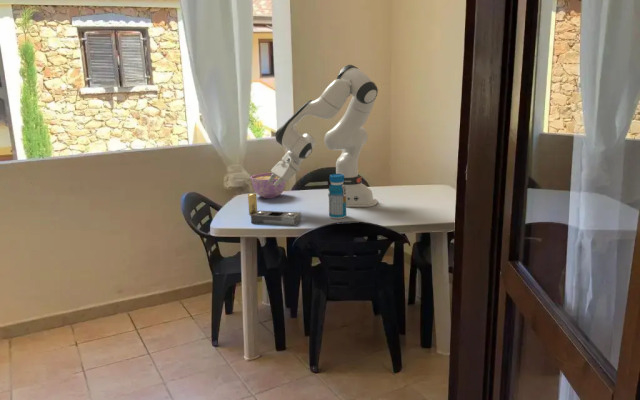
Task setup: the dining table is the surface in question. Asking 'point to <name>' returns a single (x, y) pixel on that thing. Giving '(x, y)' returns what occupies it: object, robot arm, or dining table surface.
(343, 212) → the beverage bottle
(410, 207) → the dining table surface
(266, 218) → the gray metal fixture block
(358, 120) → the robot arm
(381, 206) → the dining table surface
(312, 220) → the dining table surface
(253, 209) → the brass pin
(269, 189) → the bowl of food
